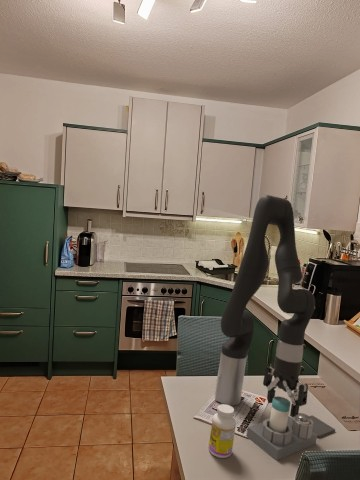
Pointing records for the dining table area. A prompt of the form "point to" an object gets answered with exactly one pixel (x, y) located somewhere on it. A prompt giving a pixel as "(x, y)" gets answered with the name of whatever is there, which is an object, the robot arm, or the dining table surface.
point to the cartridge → (279, 414)
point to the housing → (282, 437)
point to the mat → (321, 427)
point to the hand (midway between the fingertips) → (281, 409)
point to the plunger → (303, 418)
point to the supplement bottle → (222, 432)
